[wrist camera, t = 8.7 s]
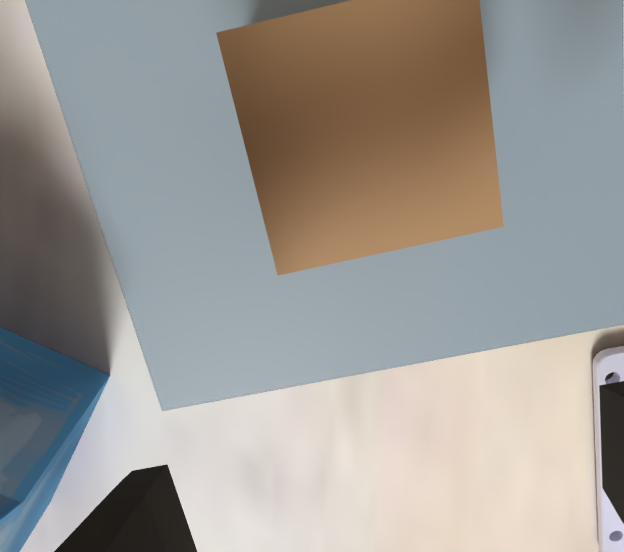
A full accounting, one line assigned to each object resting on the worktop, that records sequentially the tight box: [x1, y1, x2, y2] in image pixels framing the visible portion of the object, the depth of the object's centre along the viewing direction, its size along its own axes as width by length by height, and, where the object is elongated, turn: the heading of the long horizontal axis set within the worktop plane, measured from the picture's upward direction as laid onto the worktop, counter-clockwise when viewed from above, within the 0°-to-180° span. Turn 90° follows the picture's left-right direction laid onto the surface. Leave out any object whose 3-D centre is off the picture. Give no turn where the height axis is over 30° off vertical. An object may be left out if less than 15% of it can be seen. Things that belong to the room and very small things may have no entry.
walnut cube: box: [216, 0, 504, 276], centre depth 13 cm, size 5×5×5 cm
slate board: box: [25, 0, 624, 411], centre depth 16 cm, size 16×16×1 cm
